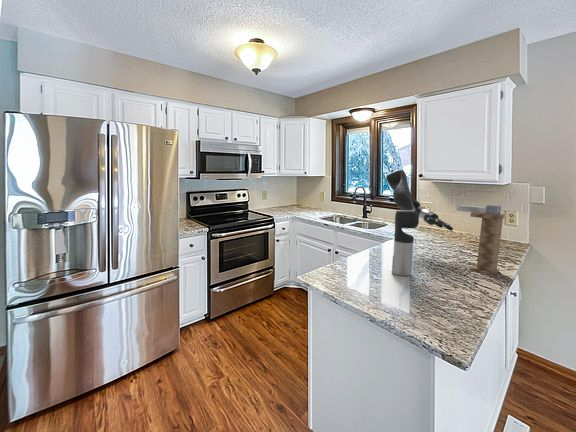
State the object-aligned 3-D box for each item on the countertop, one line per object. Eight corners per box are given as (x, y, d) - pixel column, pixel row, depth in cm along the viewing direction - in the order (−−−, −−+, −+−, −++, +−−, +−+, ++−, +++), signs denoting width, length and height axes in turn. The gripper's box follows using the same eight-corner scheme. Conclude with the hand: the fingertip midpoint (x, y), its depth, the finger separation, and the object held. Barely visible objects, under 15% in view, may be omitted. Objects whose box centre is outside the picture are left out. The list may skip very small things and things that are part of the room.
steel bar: (455, 210, 166) (456, 202, 166) (459, 210, 169) (460, 202, 168) (496, 215, 150) (497, 206, 149) (500, 214, 153) (501, 205, 152)
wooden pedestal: (465, 268, 162) (470, 212, 157) (473, 265, 168) (479, 211, 163) (490, 275, 152) (497, 215, 147) (498, 271, 158) (505, 214, 153)
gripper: (433, 224, 191) (452, 236, 176) (417, 219, 186) (435, 230, 171) (439, 214, 188) (458, 225, 174) (423, 208, 183) (441, 219, 169)
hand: (447, 227), depth 173 cm, fingers open, 8 cm apart
